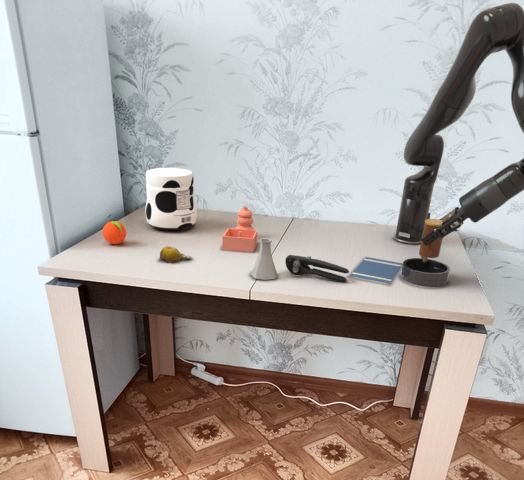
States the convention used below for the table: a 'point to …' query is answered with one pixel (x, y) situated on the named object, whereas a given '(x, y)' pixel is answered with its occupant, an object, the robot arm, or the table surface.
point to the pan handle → (424, 260)
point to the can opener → (300, 267)
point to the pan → (425, 272)
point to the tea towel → (376, 270)
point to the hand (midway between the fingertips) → (424, 239)
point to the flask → (264, 262)
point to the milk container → (170, 198)
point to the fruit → (171, 254)
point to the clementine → (114, 232)
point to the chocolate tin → (434, 247)
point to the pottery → (241, 233)
